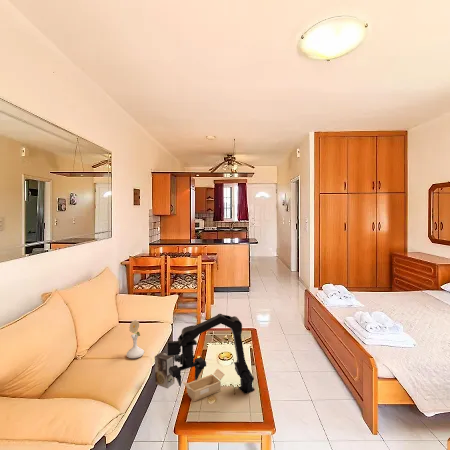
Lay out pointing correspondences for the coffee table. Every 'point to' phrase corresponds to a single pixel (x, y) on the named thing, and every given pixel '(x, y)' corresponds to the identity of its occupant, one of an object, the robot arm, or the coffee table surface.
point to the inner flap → (218, 374)
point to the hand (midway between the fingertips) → (188, 382)
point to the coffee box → (164, 370)
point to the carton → (203, 387)
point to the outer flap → (187, 385)
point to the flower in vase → (134, 341)
